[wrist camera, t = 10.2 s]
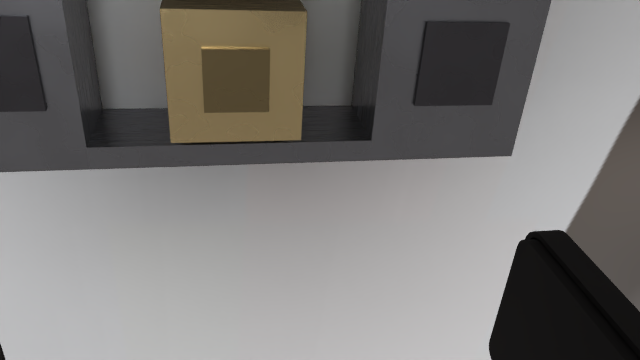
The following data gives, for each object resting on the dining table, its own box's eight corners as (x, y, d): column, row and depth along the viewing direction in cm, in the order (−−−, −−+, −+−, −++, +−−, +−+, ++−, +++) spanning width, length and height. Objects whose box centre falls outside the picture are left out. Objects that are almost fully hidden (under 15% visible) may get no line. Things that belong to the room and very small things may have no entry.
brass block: (286, -21, 25) (308, 13, 19) (283, 86, 27) (301, 142, 22) (170, -25, 24) (159, 10, 18) (177, 86, 26) (170, 145, 21)
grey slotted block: (515, -59, 25) (565, -45, 22) (476, 121, 30) (513, 157, 26) (-95, -86, 21) (-157, -73, 17) (-33, 131, 25) (-72, 176, 22)
